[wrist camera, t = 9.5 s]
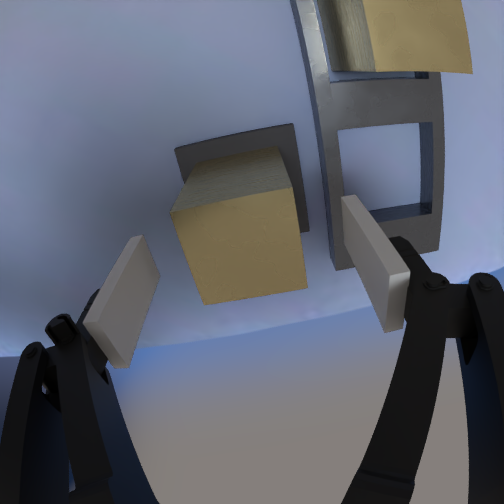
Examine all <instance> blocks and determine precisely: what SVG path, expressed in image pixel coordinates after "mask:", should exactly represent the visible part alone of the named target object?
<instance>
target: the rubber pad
mask: <svg viewBox="0 0 504 504" xmlns="http://www.w3.org/2000/svg"><path fill="white" fill-rule="evenodd" d="M273 146H278V149H279V152H280V154H281V157H282V160H283V162H284V165H285V168H286V171H287V173H288V176H289V179H290V182H291V184H292V187H293V193H294V199H295V205H296V211H297V218H298V224H299V230H300V233H302V232H308V231H310V230H309V222H308V215H307V208H306V201H305V194H304V187H303V180H302V174H301V167H300V161H299V155H298V149H297V143H296V137H295V131H294V125H293V124H292V123H290V124H284V125H278V126H272V127H267V128H261V129H256V130H251V131H246V132H241V133H236V134H231V135H227V136H222V137H218V138H213V139H209V140H205V141H201V142H196V143H192V144H188V145H184V146H181V147H177V148H175V149H174V150H175V154H176V157H177V161H178V164H179V168H180V171H181V175H182V178H183V181H184V184H185V183H186V181H187V179H188V177H189V175H190V173H191V172H192V170H193V168H194V166H195V164H196V163H198V162H202V161H207V160H211V159H215V158H220V157H224V156H229V155H233V154H238V153H243V152H248V151H253V150H258V149H263V148H268V147H273Z"/></svg>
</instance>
